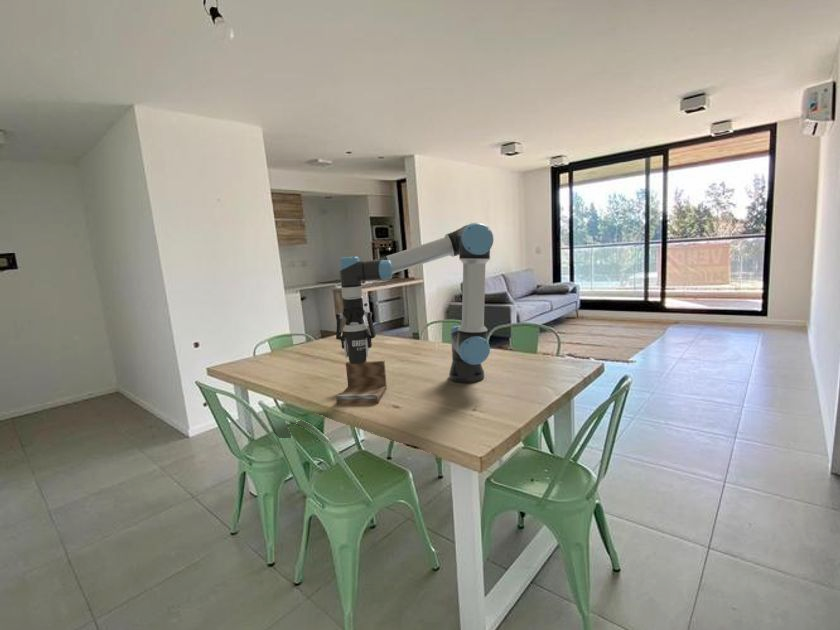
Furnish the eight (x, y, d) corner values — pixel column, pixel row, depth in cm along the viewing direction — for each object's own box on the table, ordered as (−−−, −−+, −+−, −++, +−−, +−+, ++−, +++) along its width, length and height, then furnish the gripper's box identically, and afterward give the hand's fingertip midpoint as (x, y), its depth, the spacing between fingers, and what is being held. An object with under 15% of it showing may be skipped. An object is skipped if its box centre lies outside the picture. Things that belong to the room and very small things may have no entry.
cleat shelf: (386, 388, 176) (384, 360, 174) (378, 403, 160) (375, 372, 158) (349, 389, 178) (346, 362, 176) (337, 404, 162) (334, 374, 160)
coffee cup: (346, 366, 158) (343, 327, 156) (344, 360, 167) (340, 323, 165) (372, 363, 161) (368, 324, 158) (368, 357, 170) (365, 320, 168)
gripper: (381, 295, 163) (385, 353, 166) (329, 297, 165) (335, 354, 169) (376, 297, 155) (381, 358, 159) (322, 300, 158) (328, 359, 161)
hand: (357, 356), depth 164 cm, fingers closed on coffee cup, 8 cm apart
